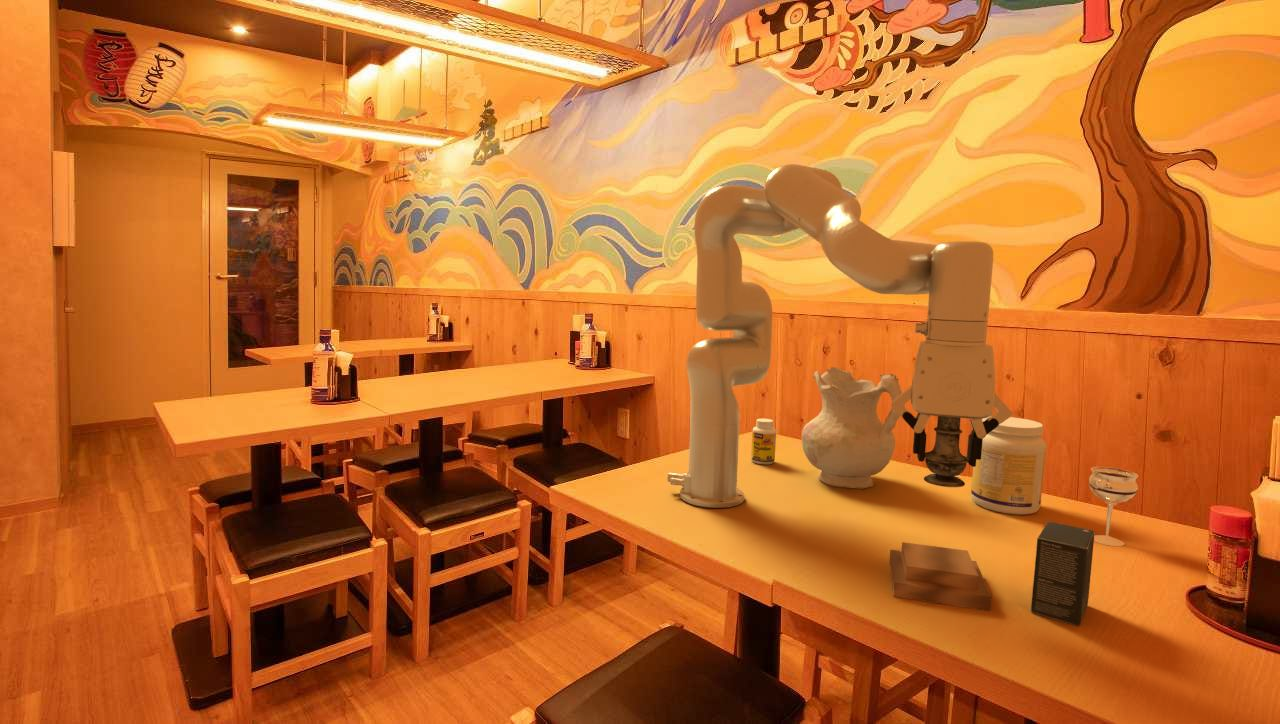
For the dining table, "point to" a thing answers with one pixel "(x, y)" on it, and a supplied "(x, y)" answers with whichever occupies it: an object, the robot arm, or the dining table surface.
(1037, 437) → the supplement tub
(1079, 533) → the box
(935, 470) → the salt shaker
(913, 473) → the dining table surface
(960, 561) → the plinth
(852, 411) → the ceramic pitcher
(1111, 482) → the wineglass
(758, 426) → the supplement bottle
